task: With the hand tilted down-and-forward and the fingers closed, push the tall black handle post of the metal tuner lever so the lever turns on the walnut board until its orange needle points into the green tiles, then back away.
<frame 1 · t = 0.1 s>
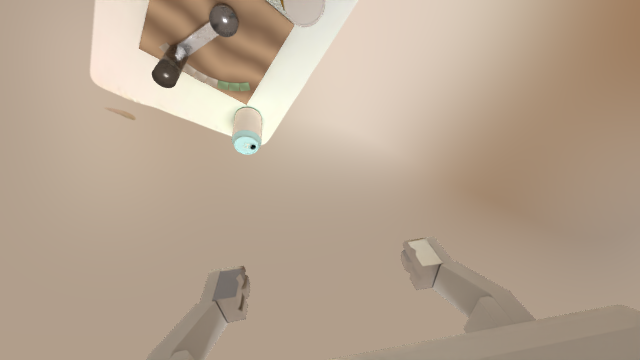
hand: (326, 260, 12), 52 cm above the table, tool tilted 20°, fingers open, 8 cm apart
can: (248, 116, 64), on the table
peg lever: (193, 49, 42), point 7 cm above the table, hinge at -25.0°
tuner board: (218, 34, 47), on the table
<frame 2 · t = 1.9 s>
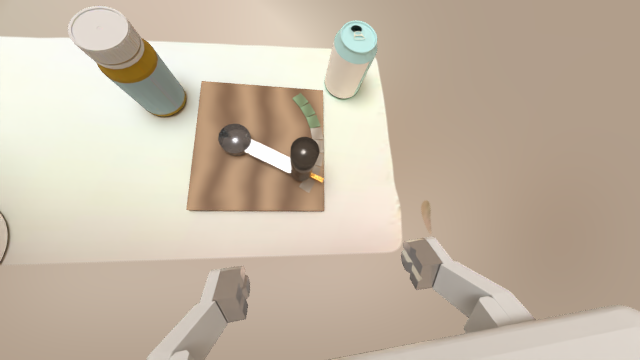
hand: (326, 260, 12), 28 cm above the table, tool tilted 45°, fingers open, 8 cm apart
can: (341, 85, 46), on the table
peg lever: (270, 147, 34), point 7 cm above the table, hinge at -25.0°
tuner board: (262, 146, 41), on the table
bottle: (167, 100, 41), on the table
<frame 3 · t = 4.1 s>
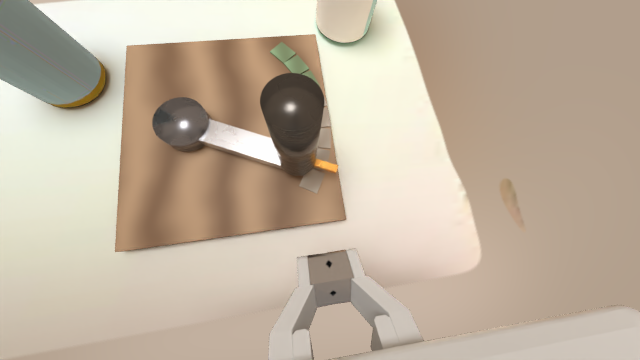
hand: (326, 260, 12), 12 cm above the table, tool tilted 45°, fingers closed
can: (341, 26, 31), on the table
peg lever: (234, 122, 18), point 7 cm above the table, hinge at -25.0°
tuner board: (233, 132, 26), on the table
bottle: (79, 84, 26), on the table
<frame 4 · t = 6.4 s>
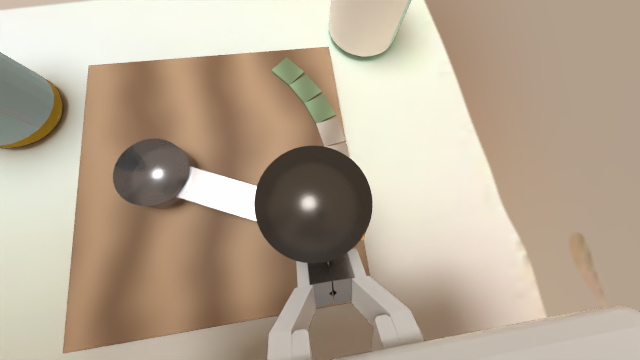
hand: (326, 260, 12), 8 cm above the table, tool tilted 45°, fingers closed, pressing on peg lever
can: (360, 35, 25), on the table
peg lever: (220, 187, 13), point 7 cm above the table, hinge at -24.6°, touching gripper
tuner board: (224, 176, 20), on the table
bottle: (29, 115, 21), on the table
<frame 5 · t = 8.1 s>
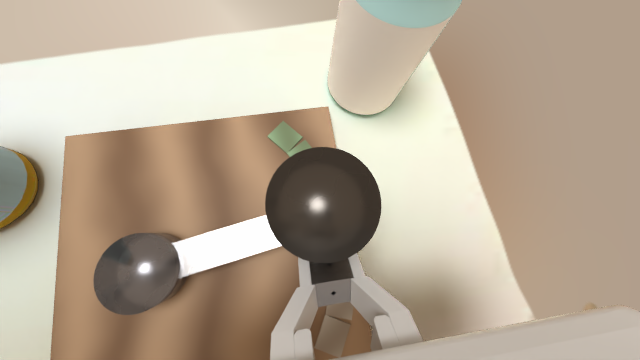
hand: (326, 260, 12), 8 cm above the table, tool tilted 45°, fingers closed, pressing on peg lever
can: (360, 87, 23), on the table
peg lever: (219, 243, 12), point 7 cm above the table, hinge at 7.8°, touching gripper
tuner board: (218, 255, 19), on the table
bottle: (0, 191, 19), on the table
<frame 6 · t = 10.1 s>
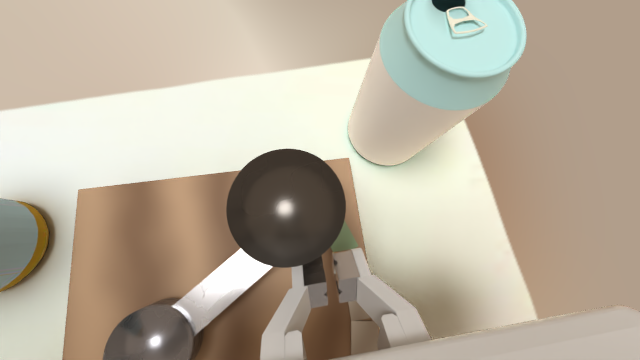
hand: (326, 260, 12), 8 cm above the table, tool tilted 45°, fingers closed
can: (381, 133, 22), on the table
peg lever: (215, 286, 11), point 7 cm above the table, hinge at 33.0°, touching gripper
tuner board: (232, 318, 18), on the table
bottle: (10, 245, 18), on the table
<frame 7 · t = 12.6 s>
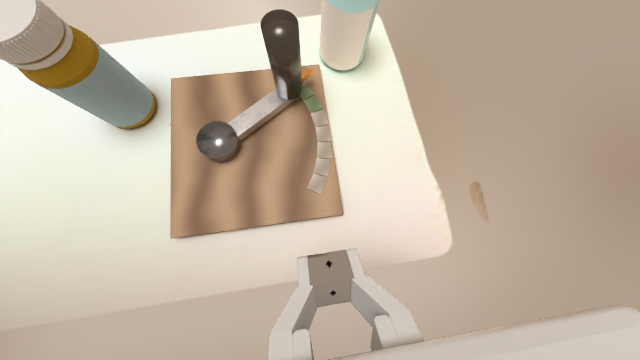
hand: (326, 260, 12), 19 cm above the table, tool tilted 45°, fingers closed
can: (341, 55, 37), on the table
peg lever: (251, 91, 27), point 7 cm above the table, hinge at 33.1°
tuner board: (254, 145, 33), on the table
bottle: (135, 109, 34), on the table
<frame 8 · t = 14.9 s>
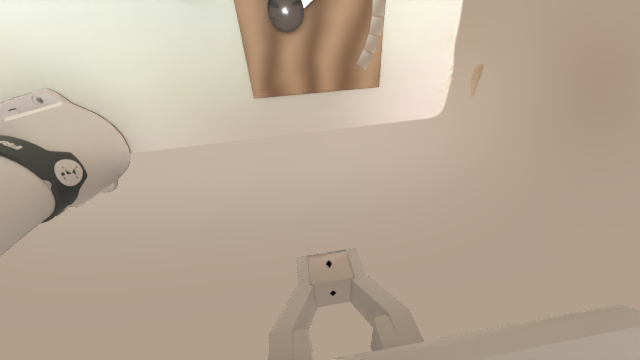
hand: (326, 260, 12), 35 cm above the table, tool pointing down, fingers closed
tuner board: (312, 11, 35), on the table
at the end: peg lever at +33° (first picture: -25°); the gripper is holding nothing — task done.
